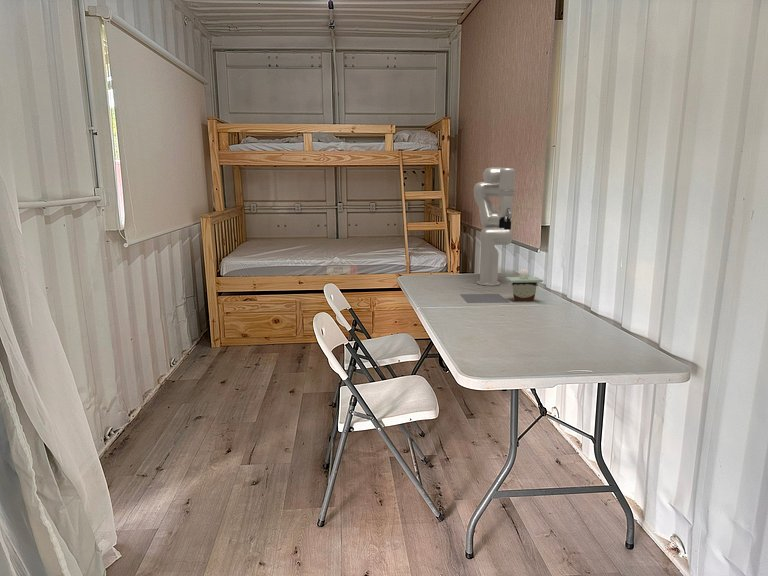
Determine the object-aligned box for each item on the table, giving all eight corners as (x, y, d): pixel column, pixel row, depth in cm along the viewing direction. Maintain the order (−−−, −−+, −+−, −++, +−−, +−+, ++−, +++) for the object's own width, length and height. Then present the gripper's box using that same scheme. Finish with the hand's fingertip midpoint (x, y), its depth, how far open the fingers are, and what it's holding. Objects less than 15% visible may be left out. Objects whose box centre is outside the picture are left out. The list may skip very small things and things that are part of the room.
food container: (534, 300, 257) (535, 279, 255) (537, 302, 251) (538, 282, 249) (508, 299, 258) (509, 279, 256) (510, 302, 252) (511, 281, 250)
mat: (459, 295, 267) (459, 294, 267) (498, 295, 268) (498, 293, 268) (467, 304, 248) (467, 302, 248) (509, 303, 249) (509, 302, 248)
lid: (505, 279, 257) (506, 267, 255) (536, 278, 258) (536, 267, 256) (511, 282, 248) (511, 271, 247) (542, 282, 249) (543, 270, 248)
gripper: (494, 193, 269) (493, 227, 272) (503, 194, 252) (501, 230, 255) (509, 193, 269) (507, 227, 272) (519, 194, 252) (517, 230, 255)
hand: (504, 228), depth 264 cm, fingers open, 9 cm apart
